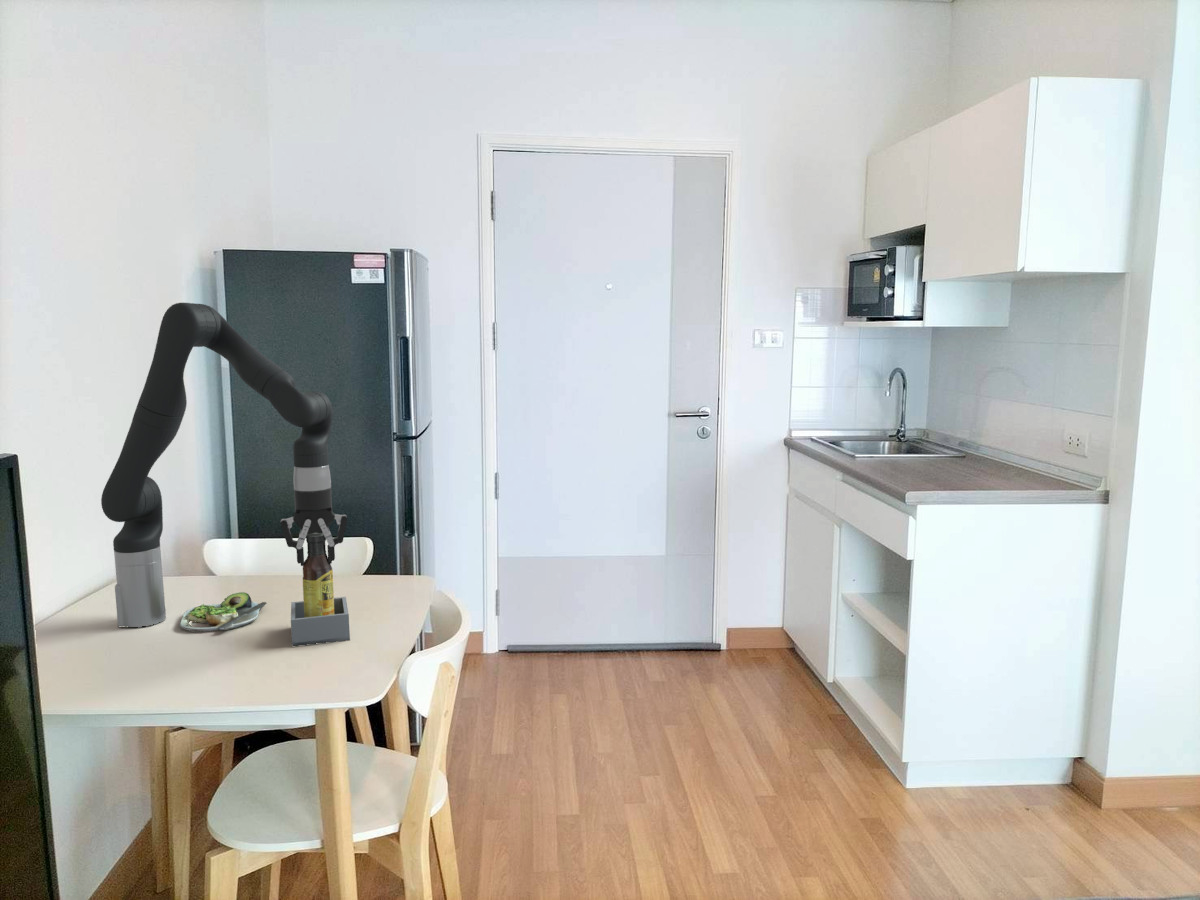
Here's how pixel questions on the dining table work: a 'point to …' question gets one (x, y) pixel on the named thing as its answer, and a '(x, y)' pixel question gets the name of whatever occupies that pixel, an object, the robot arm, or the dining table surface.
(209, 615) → the salad plate
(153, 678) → the dining table surface
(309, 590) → the sauce bottle
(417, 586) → the dining table surface
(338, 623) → the bottle caddy
